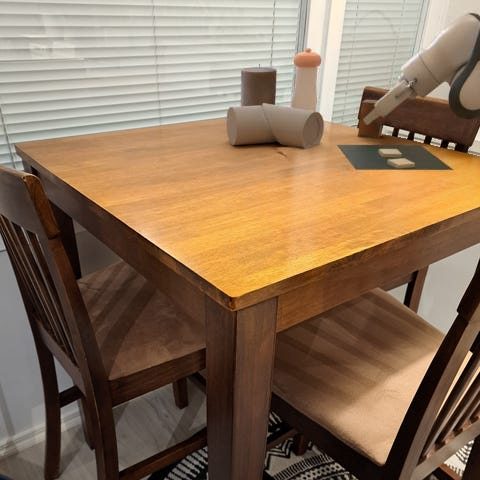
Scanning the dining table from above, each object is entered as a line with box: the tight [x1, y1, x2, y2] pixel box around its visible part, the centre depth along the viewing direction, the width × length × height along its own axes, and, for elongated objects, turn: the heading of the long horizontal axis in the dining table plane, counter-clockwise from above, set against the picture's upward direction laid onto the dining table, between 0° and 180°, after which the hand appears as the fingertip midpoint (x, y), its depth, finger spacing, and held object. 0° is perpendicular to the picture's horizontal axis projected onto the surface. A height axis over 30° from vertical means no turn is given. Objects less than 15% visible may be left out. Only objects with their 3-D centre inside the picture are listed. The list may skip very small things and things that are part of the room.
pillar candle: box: [240, 63, 278, 106], centre depth 135 cm, size 10×10×15 cm
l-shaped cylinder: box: [226, 103, 325, 149], centre depth 116 cm, size 18×11×20 cm
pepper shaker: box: [291, 47, 322, 112], centre depth 130 cm, size 7×7×19 cm
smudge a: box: [378, 149, 402, 157], centre depth 109 cm, size 4×4×1 cm
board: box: [336, 144, 454, 171], centre depth 108 cm, size 20×20×1 cm
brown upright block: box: [357, 99, 385, 140], centre depth 122 cm, size 5×4×9 cm
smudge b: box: [387, 158, 415, 169], centre depth 102 cm, size 4×4×1 cm
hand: (369, 118), depth 122 cm, fingers open, 8 cm apart
